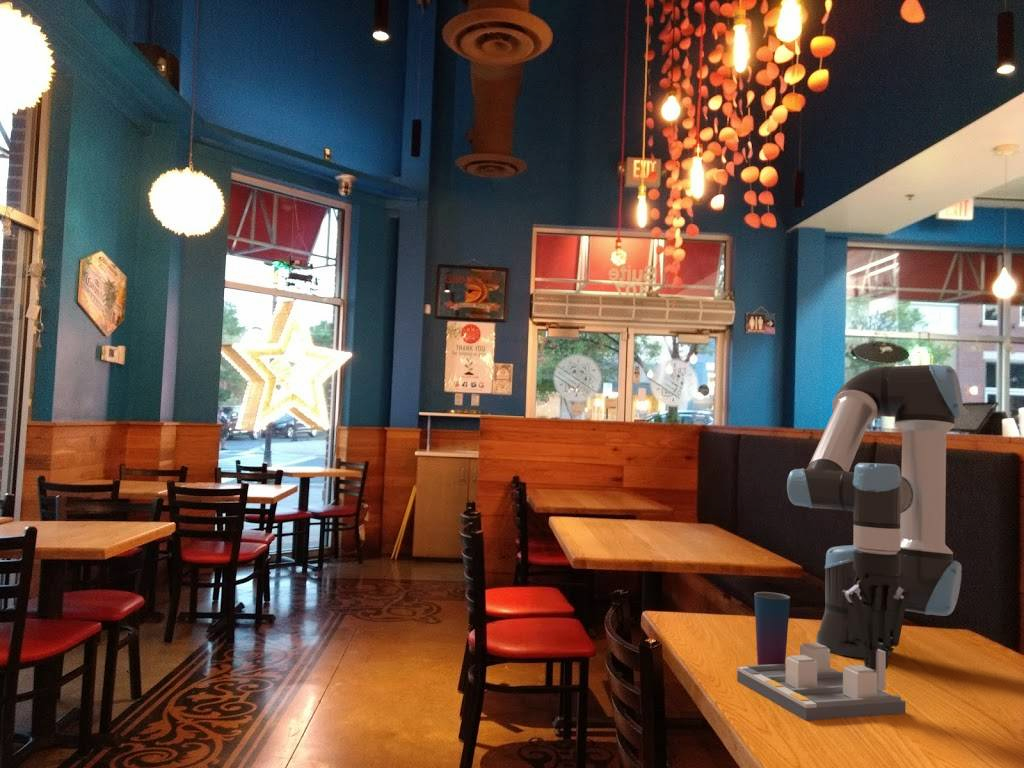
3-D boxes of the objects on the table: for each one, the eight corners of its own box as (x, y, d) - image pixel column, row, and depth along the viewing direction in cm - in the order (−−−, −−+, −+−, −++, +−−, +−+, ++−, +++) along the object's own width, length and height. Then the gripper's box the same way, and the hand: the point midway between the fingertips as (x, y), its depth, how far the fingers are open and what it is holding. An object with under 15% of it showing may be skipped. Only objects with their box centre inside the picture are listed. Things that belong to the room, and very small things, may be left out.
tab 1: (817, 667, 144) (817, 642, 144) (829, 673, 140) (830, 647, 141) (799, 668, 143) (800, 642, 143) (811, 674, 139) (812, 648, 140)
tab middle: (804, 681, 135) (804, 654, 135) (817, 688, 131) (817, 659, 132) (785, 682, 134) (785, 655, 134) (797, 689, 130) (798, 660, 131)
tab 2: (862, 692, 130) (862, 664, 130) (876, 699, 126) (876, 670, 127) (842, 693, 129) (843, 665, 129) (857, 701, 125) (857, 671, 126)
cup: (791, 679, 143) (792, 600, 144) (754, 675, 144) (756, 597, 145) (786, 668, 149) (787, 593, 151) (751, 665, 151) (752, 590, 152)
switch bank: (826, 676, 146) (826, 661, 146) (905, 713, 126) (905, 696, 127) (737, 681, 140) (737, 665, 140) (806, 720, 121) (806, 703, 121)
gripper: (890, 547, 136) (890, 679, 134) (831, 547, 132) (829, 682, 130) (923, 554, 128) (923, 693, 127) (861, 554, 125) (860, 697, 123)
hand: (876, 687), depth 128 cm, fingers closed
